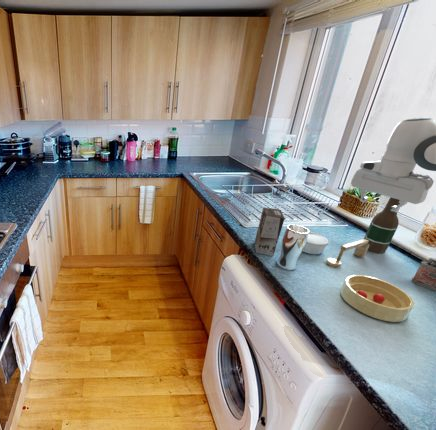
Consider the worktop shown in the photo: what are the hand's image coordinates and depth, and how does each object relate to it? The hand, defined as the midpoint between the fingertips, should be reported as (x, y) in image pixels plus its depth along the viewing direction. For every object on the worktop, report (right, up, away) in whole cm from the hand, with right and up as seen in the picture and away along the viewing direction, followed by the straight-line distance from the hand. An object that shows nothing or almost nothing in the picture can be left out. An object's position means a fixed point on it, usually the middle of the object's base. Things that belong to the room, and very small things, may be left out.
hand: (378, 206), depth 101 cm
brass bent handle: (-7, -20, +6) cm, 22 cm away
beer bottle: (+11, -17, +15) cm, 25 cm away
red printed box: (+10, -27, -7) cm, 29 cm away
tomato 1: (-18, -27, -15) cm, 36 cm away
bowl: (-16, -30, -15) cm, 37 cm away
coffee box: (-34, -17, +13) cm, 40 cm away
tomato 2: (-14, -28, -16) cm, 35 cm away
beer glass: (-31, -22, +3) cm, 38 cm away
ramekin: (-16, -17, +14) cm, 27 cm away
